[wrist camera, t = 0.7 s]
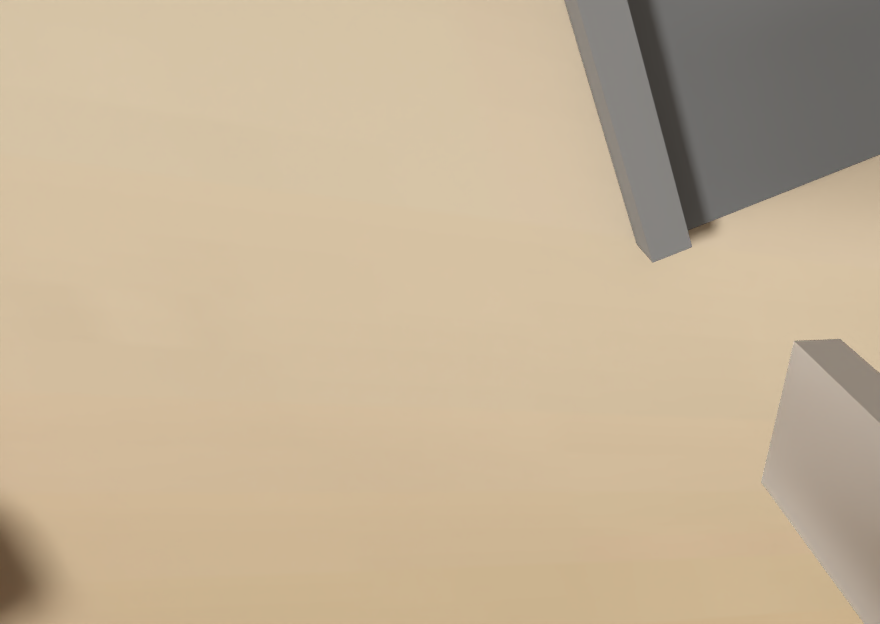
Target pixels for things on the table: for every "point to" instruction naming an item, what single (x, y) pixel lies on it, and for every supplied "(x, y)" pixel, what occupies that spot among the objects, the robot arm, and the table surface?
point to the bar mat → (727, 101)
